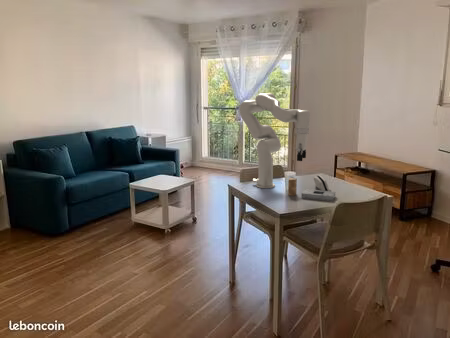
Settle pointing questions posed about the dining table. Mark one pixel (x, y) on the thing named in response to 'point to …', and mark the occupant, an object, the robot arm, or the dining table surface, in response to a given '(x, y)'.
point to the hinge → (321, 183)
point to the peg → (292, 186)
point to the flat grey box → (318, 195)
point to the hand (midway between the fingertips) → (301, 159)
